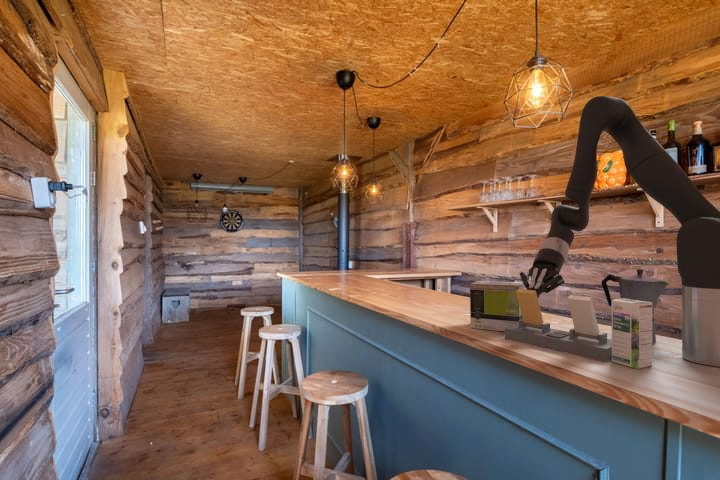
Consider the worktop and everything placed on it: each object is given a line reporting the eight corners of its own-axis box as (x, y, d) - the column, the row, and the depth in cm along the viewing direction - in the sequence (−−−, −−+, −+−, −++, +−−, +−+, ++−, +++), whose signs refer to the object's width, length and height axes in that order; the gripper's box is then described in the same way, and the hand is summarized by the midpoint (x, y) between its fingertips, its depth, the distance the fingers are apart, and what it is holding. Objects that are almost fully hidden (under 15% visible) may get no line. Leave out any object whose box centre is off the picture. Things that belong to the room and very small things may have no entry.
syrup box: (610, 361, 87) (609, 299, 87) (627, 358, 89) (627, 297, 89) (636, 369, 81) (635, 303, 81) (654, 366, 83) (653, 301, 83)
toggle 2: (601, 337, 93) (592, 297, 90) (598, 341, 92) (589, 300, 89) (578, 333, 97) (569, 295, 94) (576, 337, 96) (566, 298, 93)
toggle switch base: (623, 353, 92) (623, 332, 92) (606, 361, 86) (606, 339, 86) (523, 333, 113) (523, 316, 113) (504, 338, 107) (504, 320, 107)
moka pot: (670, 348, 96) (670, 271, 96) (600, 339, 106) (599, 268, 106) (668, 340, 104) (668, 268, 104) (603, 332, 113) (602, 266, 113)
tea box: (525, 327, 121) (524, 282, 121) (519, 334, 112) (519, 285, 112) (477, 322, 129) (477, 279, 129) (469, 328, 120) (469, 282, 120)
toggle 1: (545, 327, 104) (536, 290, 101) (542, 330, 103) (533, 293, 100) (527, 324, 108) (518, 288, 105) (524, 327, 107) (515, 291, 105)
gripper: (525, 247, 115) (502, 290, 108) (570, 247, 105) (548, 295, 98) (534, 263, 119) (513, 306, 112) (579, 265, 108) (558, 313, 101)
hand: (529, 301), depth 105 cm, fingers closed
